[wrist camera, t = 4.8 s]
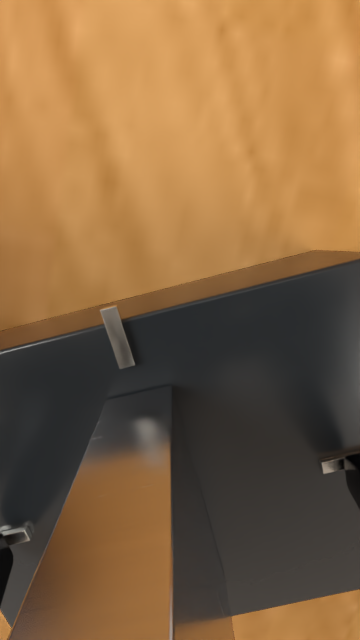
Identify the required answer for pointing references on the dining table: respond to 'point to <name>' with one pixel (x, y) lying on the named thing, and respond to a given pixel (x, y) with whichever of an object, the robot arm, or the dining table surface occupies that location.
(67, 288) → the dining table surface
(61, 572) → the tap handle
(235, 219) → the dining table surface
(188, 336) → the tap console
